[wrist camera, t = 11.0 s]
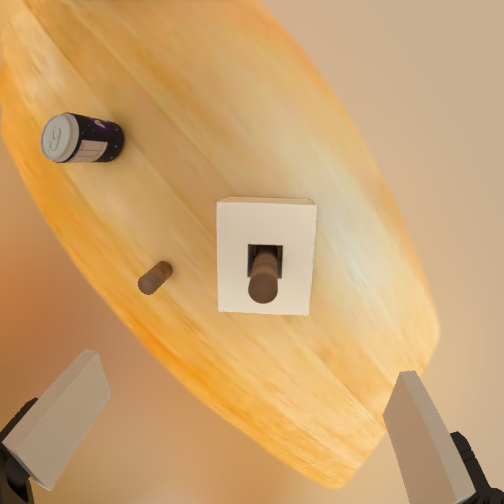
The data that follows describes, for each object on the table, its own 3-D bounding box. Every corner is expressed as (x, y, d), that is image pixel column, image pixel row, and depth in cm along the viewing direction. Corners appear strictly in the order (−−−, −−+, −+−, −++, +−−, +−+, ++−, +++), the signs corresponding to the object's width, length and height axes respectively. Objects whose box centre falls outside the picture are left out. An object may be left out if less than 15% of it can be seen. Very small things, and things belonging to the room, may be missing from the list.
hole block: (228, 196, 35) (216, 201, 29) (309, 199, 35) (317, 205, 28) (228, 287, 39) (218, 311, 32) (303, 290, 38) (308, 315, 31)
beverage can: (132, 127, 34) (79, 114, 22) (120, 166, 35) (64, 168, 24) (101, 120, 34) (46, 108, 22) (90, 157, 35) (33, 157, 24)
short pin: (155, 260, 39) (136, 275, 33) (171, 261, 38) (154, 276, 33) (157, 277, 39) (139, 293, 33) (172, 278, 39) (156, 295, 33)
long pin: (257, 238, 36) (248, 275, 23) (277, 239, 36) (278, 276, 23) (257, 256, 37) (247, 303, 24) (276, 257, 37) (277, 304, 23)
